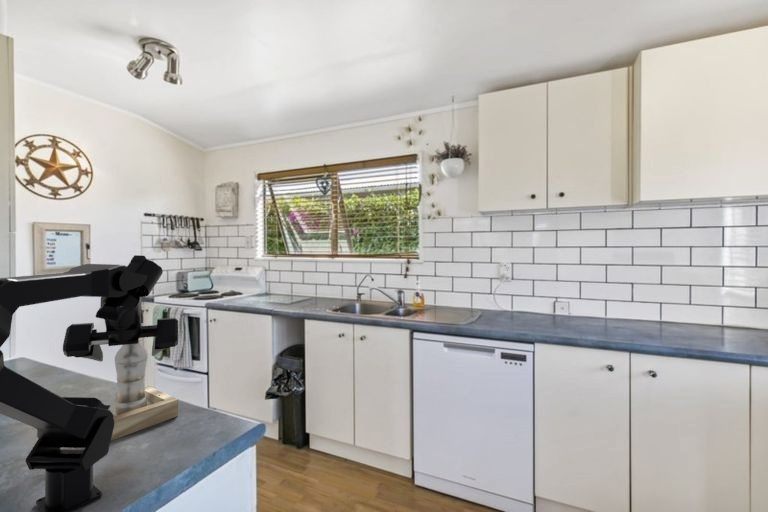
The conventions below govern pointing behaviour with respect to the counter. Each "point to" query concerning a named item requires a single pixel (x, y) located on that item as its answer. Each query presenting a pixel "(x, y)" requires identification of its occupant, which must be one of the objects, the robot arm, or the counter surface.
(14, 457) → the counter surface
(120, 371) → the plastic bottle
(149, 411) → the bracket
